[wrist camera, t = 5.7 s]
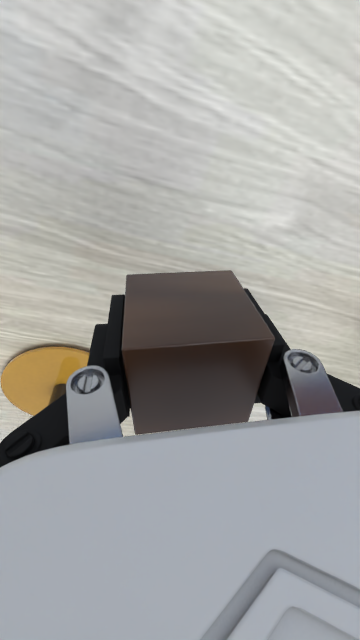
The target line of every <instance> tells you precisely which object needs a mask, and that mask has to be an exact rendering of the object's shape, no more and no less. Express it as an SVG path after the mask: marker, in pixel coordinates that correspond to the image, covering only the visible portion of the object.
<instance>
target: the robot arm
mask: <svg viewBox="0 0 360 640" xmlns="http://www.w3.org/2000/svg"><path fill="white" fill-rule="evenodd" d="M244 290H245V292H246V294H247V295H248V297H249V298H250V300H251V301H252V303H253V304H254V306H255V307H256V309H257V311H258V312H259V314H260V315H261V317H262V318H263V320H264V321H265V323H266V324H267V326H268V328H269V329H270V331H271V332H272V334H273V335H274V337H275V341H274V344H273V347H272V350H271V353H270V356H269V359H268V362H267V365H266V368H265V371H264V374H263V377H262V380H261V383H260V386H259V389H258V392H257V396H256V399H255V402H254V403H262V404H264V405H265V410H266V416H267V420H263V421H254V422H245V423H236V424H228V425H219V426H210V427H202V428H193V429H184V430H176V431H168V432H159V433H151V434H143V435H134V436H126V437H123V434H122V430H121V426H120V424H121V423H122V422H123V421H124V420H125V419H126V418H127V417H129V412H130V408H131V406H130V400H129V393H128V387H127V381H126V375H125V368H124V362H123V356H122V336H123V321H124V306H125V295H112V298H111V305H110V312H109V319H108V324H96V325H95V329H94V334H93V339H92V343H91V348H90V353H89V358H88V363H87V366H85V367H83V368H80V369H78V370H77V371H75V372H74V373H73V374H72V375H71V376H70V377H69V378H68V380H67V383H66V393H65V394H63V395H62V396H61V397H59V398H58V399H56V400H55V401H54V402H52V403H51V404H50V405H48V406H47V407H46V408H44V409H43V410H41V411H40V412H39V413H37V414H36V415H35V416H33V417H32V418H30V419H29V420H28V421H26V422H25V423H24V424H22V425H21V426H20V427H18V428H17V429H15V430H14V431H13V432H11V433H10V434H9V435H8V436H7V437H5V438H4V439H3V440H2V442H1V443H0V640H360V388H358V387H355V386H353V385H351V384H349V383H347V382H344V381H342V380H340V379H338V378H335V377H333V376H331V375H329V374H327V373H326V371H325V369H324V367H323V365H322V363H321V361H320V360H319V359H318V358H317V357H316V356H315V355H313V354H312V353H310V352H307V351H305V350H300V349H292V350H291V349H290V348H289V346H288V345H287V343H286V342H285V341H284V339H283V338H282V336H281V335H280V333H279V332H278V330H277V329H276V327H275V326H274V324H273V323H272V321H271V320H270V319H269V317H268V316H267V315H266V314H264V312H263V311H262V309H261V308H260V306H259V305H258V303H257V302H256V300H255V299H254V298H253V296H252V295H251V293H250V292H249V290H248V289H244Z"/></svg>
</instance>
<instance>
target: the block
mask: <svg viewBox="0 0 360 640" xmlns="http://www.w3.org/2000/svg"><path fill="white" fill-rule="evenodd" d="M274 341H275V337H274V335H273V334H272V332H271V331H270V329H269V328H268V326H267V324H266V323H265V321H264V320H263V318H262V317H261V315H260V314H259V312H258V311H257V309H256V307H255V306H254V304H253V303H252V301H251V300H250V298H249V297H248V295H247V294H246V292H245V290H244V289H243V287H242V286H241V284H240V283H239V281H238V280H237V278H236V277H235V275H234V273H233V272H232V271H231V270H229V271H205V272H180V273H156V274H132V275H127V276H126V291H125V306H124V321H123V336H122V356H123V362H124V368H125V375H126V381H127V387H128V393H129V400H130V406H131V412H132V418H133V425H134V431H135V434H136V435H138V434H146V433H155V432H164V431H172V430H181V429H190V428H198V427H207V426H216V425H225V424H233V423H242V422H248V420H249V417H250V414H251V411H252V408H253V405H254V402H255V399H256V396H257V392H258V389H259V386H260V383H261V380H262V377H263V374H264V371H265V368H266V365H267V362H268V359H269V356H270V353H271V350H272V347H273V344H274Z"/></svg>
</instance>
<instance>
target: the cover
mask: <svg viewBox="0 0 360 640" xmlns="http://www.w3.org/2000/svg"><path fill="white" fill-rule="evenodd" d="M88 358H89V352H86V351H83V350H79V349H75V348H69V347H43V348H37V349H33V350H30V351H27V352H24V353H22V354H20V355H18V356H16V357H15V358H14V359H12V360H11V361H10V362H9V363H8V364H7V366H6V367H5V369H4V371H3V373H2V375H1V388H2V391H3V393H4V394H5V396H6V397H7V399H8V400H9V401H10V402H11V403H12V404H13V405H15V406H16V407H18V408H19V409H21V410H23V411H24V412H27V413H29V414H31V415H34V416H35V415H36V414H37V413H39V412H40V411H41V410H43V409H44V408H46V407H47V406H48V405H50V404H51V403H52V402H54V401H55V400H56V399H58V398H59V397H61V396H62V395H63V394H65V393H66V383H67V380H68V378H69V377H70V376H71V375H72V374H73V373H74V372H75V371H77V370H78V369H80V368H83V367H85V366H87V363H88Z"/></svg>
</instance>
